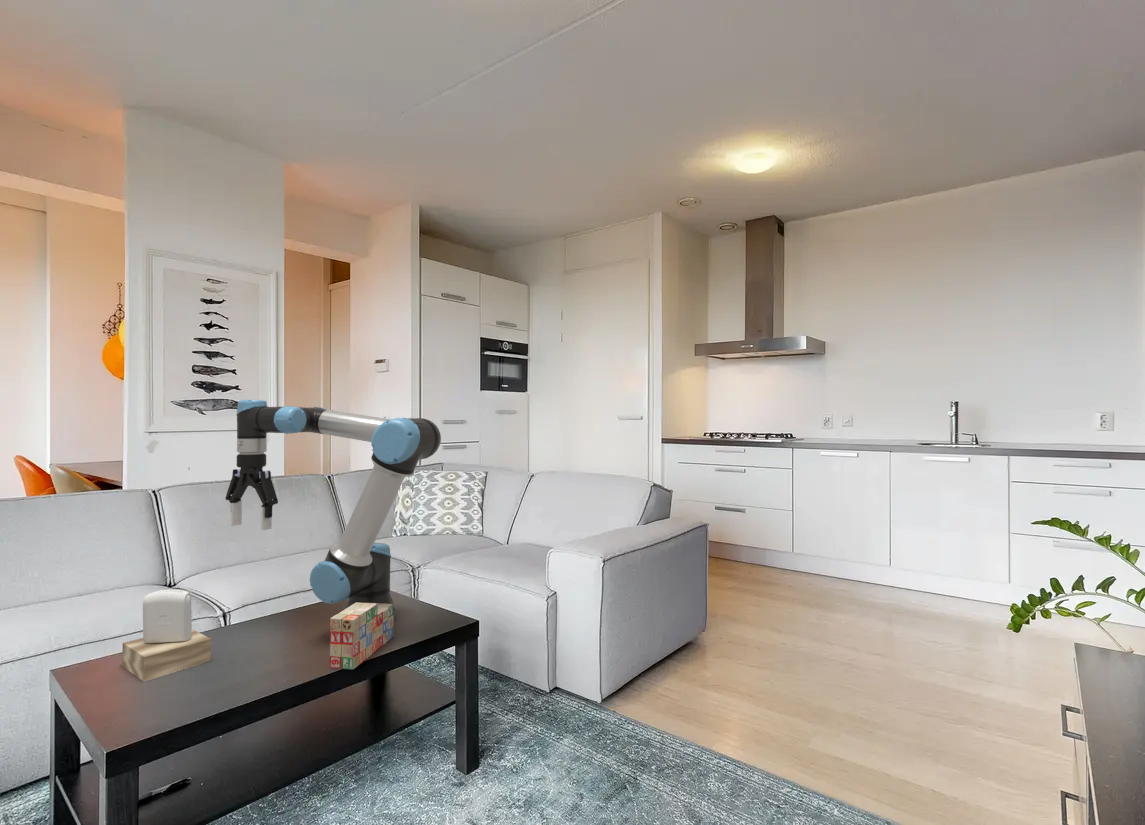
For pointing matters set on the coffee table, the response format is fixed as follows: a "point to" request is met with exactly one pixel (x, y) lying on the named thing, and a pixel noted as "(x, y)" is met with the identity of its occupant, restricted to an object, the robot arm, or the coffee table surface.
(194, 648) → the birch box
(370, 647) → the stack of blocks
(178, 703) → the coffee table surface
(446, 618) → the coffee table surface
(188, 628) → the photo printer
